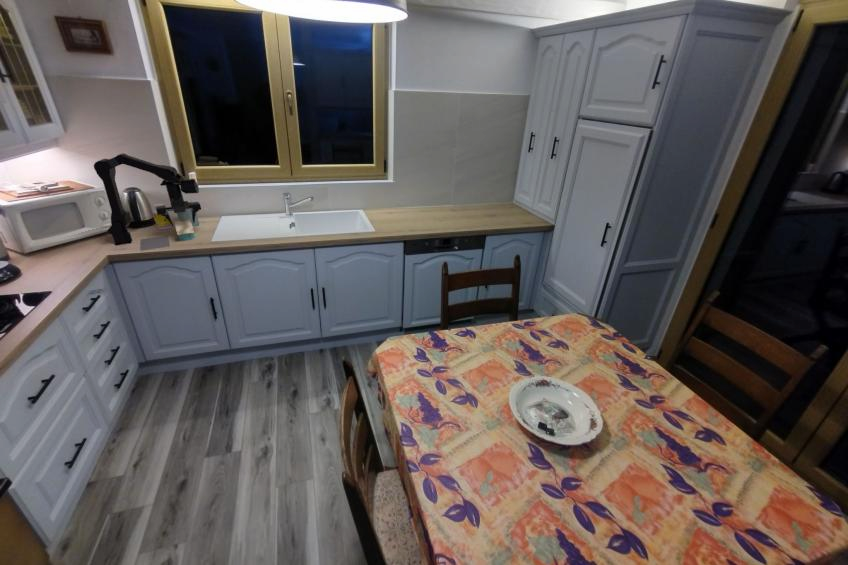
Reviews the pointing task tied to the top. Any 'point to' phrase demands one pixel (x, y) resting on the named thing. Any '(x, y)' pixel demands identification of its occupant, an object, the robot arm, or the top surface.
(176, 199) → the robot arm
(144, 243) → the mat
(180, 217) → the grey-green cup
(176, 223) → the cover board
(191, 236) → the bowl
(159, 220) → the supplement bottle
